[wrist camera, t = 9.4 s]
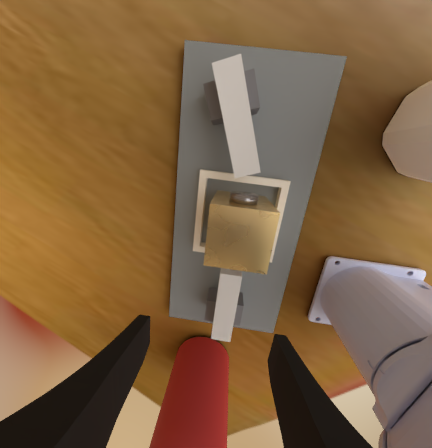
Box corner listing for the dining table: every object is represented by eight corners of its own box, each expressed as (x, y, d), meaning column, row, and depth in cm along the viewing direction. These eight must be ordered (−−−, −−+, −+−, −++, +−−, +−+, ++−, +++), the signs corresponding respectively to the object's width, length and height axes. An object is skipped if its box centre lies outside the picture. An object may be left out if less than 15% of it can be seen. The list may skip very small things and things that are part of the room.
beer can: (183, 372, 27) (146, 526, 16) (173, 334, 25) (124, 477, 14) (231, 371, 26) (230, 533, 15) (225, 332, 24) (219, 482, 13)
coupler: (266, 189, 18) (282, 203, 12) (255, 246, 20) (265, 281, 14) (218, 183, 18) (210, 194, 12) (211, 240, 20) (202, 272, 14)
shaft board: (339, 62, 16) (385, 20, 11) (271, 326, 24) (280, 367, 19) (187, 47, 16) (169, 0, 11) (171, 310, 24) (156, 346, 19)
